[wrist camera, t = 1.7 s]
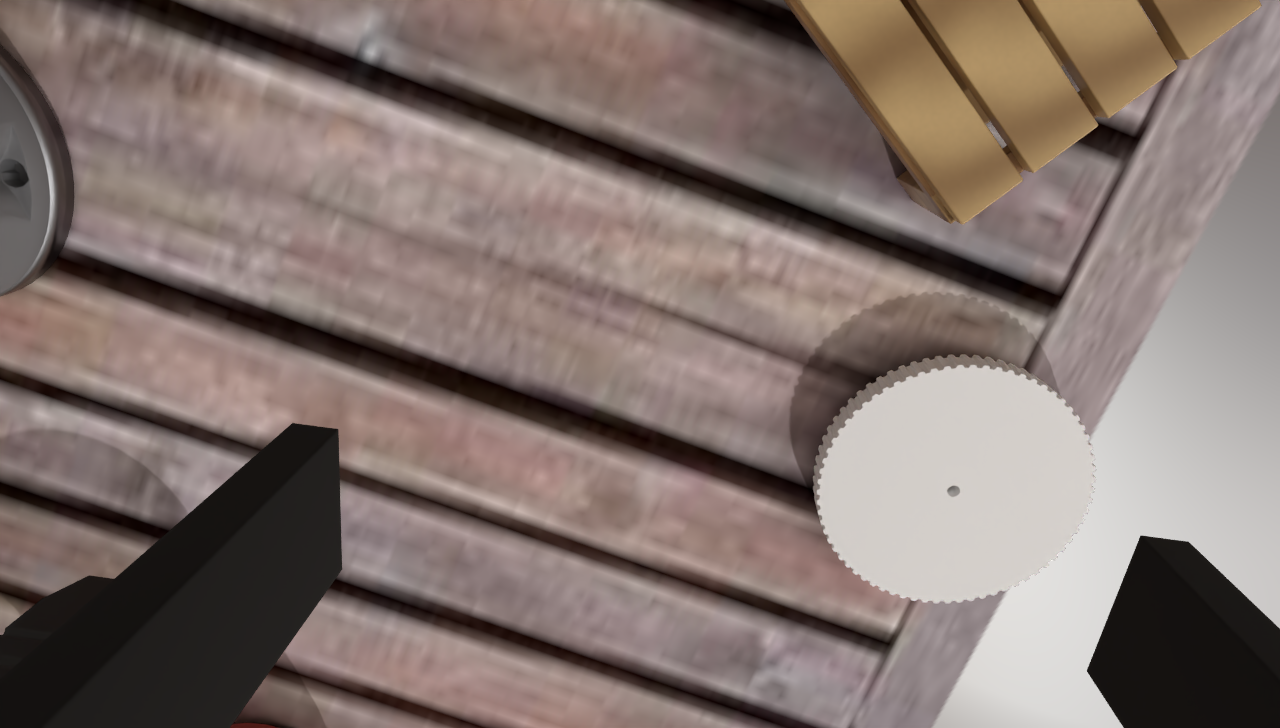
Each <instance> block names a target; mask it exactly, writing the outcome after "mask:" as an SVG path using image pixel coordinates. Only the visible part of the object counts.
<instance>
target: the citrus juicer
mask: <svg viewBox="0 0 1280 728" xmlns="http://www.w3.org/2000/svg"><path fill="white" fill-rule="evenodd" d="M230 728H278V727H274V726H270V725H266V724H256V723H237V724H232V725H231V727H230Z"/></svg>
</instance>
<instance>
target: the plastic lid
mask: <svg viewBox="0 0 1280 728" xmlns="http://www.w3.org/2000/svg"><path fill="white" fill-rule="evenodd" d="M856 394H857V396H856V397H855V398H854V399H853V398H850V399H849V400H848V405H847V406H846V407H842V408H841V409H840V412H841V413H840V415H839V416H835V417H834V418H833V421H834V423H833V425H829V426H828V428H827V431H828V434H827V435H823V438H822V441H823V445H819V448H818V450H819V453H820V454H819V455H816V458H815V460H816V463H817V465H815V466H814V473H815V475H814V476H813V482H814V486H813V491H814V495H815V496H814V500H815V503H816V508H817V512H818V515H819V519H820V523H821V525H822V528H823V532H824V534H826V537H827V541H828V542H829V543H831V546H832V549H833V551H834V552H837V555H838V558H839V559H840V560H844V563H845V566H846V567H847V568H849V567H851V569H852V572H853V573H854V574H855V575H857V574H860V577H861V579H862V580H863V581H866V580H868V581H869V583H870V585H871V586H875V585H877V586H878V587H879V590H881V591H885V590H888V591H889V594H891V595H895V594H899V596H900V598H906V597H910V599H911V600H912V601H916V600H917V599H921V600H922V602H926V603H927V602H928V601H933V603H939V602H940V601H944V602H945V603H951V601H956V602H957V603H960V602H962V601H963V600H965V599H968V601H973V600H974V598H977V597H980V599H983V598H986V595H989V594H991V595H992V596H993V595H996V594H997V592H998V591H1001V590H1002V591H1003V592H1005V591H1007V590H1008V587H1010V586H1014V587H1016V586H1018V585H1019V582H1020V581H1022V580H1024V581H1027V580H1029V579H1030V578H1029V576H1031V575H1032V574H1034V575H1037V574H1038V573H1039V569H1041V568H1042V567H1044V568H1046V567H1047V566H1049V564H1048V562H1049V561H1051V560H1055V559H1056V558H1057V557H1058V556H1057V554H1058V553H1059V552H1063V551H1064V550H1065V547H1064V546H1065V545H1066V544H1067V543H1071V542H1072V540H1073V539H1072V536H1073V534H1077V533H1078V531H1079V529H1078V526H1079V524H1083V522H1084V518H1083V516H1084V514H1088V511H1089V509H1088V508H1087V505H1088V504H1090V503H1092V498H1091V497H1090V494H1091V493H1094V490H1095V488H1094V487H1093V486H1092V483H1093V482H1095V481H1096V477H1095V476H1094V475H1093V472H1094V471H1096V466H1095V465H1094V464H1093V463H1092V462H1093V461H1094V460H1095V456H1094V455H1093V454H1092V453H1091V452H1090V451H1091V450H1093V447H1092V445H1091V444H1090V443H1089V442H1088V440H1089V439H1090V437H1089V435H1088V434H1087V433H1086V432H1085V431H1084V430H1085V429H1086V428H1085V426H1084V425H1083V424H1082V423H1081V422H1080V421H1079V420H1080V418H1079V416H1078V415H1077V414H1076V413H1074V412H1073V409H1072V407H1071V406H1070V405H1068V404H1067V403H1066V401H1065V400H1064V399H1063V398H1062V397H1061V396H1060V395H1058V394H1057V393H1056V392H1055V391H1054V390H1053V389H1052V388H1051V387H1049V386H1048V385H1047V384H1046V383H1045V382H1044V381H1042V380H1040V379H1039V378H1037V377H1036V376H1035V375H1034V374H1032V373H1031V374H1029V373H1028V372H1027V371H1026V370H1025V369H1023V368H1020V369H1018V368H1017V367H1016V366H1015V365H1014V364H1012V363H1009V364H1008V365H1007V364H1006V363H1005V362H1004V361H1003V360H999V359H998V360H997V361H994V360H993V359H992V358H991V357H985V359H982V358H981V357H980V356H979V355H973V357H972V358H970V357H968V356H967V355H966V354H961V355H960V357H955V356H954V355H948V357H947V358H942V357H941V356H936V357H935V359H933V360H930V359H929V358H924V359H923V360H922V362H920V363H917V362H916V361H913V362H911V363H910V366H907V367H905V366H904V365H902V366H899V367H898V370H897V371H895V372H894V371H892V370H890V371H888V372H887V375H886V376H885V377H882V376H879V377H877V378H876V382H875V383H873V384H872V383H868V384H867V385H866V389H865V390H863V391H862V390H859V391H858V392H857V393H856Z"/></svg>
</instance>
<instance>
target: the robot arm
mask: <svg viewBox="0 0 1280 728" xmlns="http://www.w3.org/2000/svg"><path fill="white" fill-rule="evenodd" d="M73 209H74V182H73V174H72V168H71V163H70V158H69V154H68V151H67V147H66V144H65V141H64V138H63V136H62V133H61V131H60V128H59V126H58V123H57V121H56V119H55V117H54V115H53V113H52V111H51V109H50V107H49V106H48V104H47V102H46V101H45V99H44V97H43V96H42V94H41V92H40V91H39V90H38V88H37V87H36V85H35V84H34V82H33V81H32V80H31V78H30V77H29V76H28V75H27V73H26V72H25V71H24V70H23V68H22V67H21V66H20V65H19V64H18V63H17V62H16V61H15V60H14V59H13V58H12V56H11V55H10V54H9V53H8V52H7V51H5V50H4V49H3V48H2V47H1V46H0V296H3V295H6V294H9V293H12V292H15V291H17V290H19V289H22V288H24V287H25V286H27V285H29V284H31V283H32V282H34V281H35V280H36V279H38V278H39V277H40V276H42V275H43V274H44V273H45V272H46V271H47V270H48V269H49V268H50V266H51V265H52V264H53V262H54V261H55V260H56V259H57V257H58V255H59V253H60V252H61V250H62V248H63V246H64V244H65V241H66V239H67V237H68V233H69V230H70V227H71V222H72V216H73ZM341 570H342V551H341V513H340V475H339V438H338V429H332V428H325V427H317V426H310V425H302V424H295V423H292V424H291V425H290V426H289V427H288V428H287V429H285V430H284V431H283V432H282V433H281V434H280V435H279V436H277V437H276V438H275V439H274V440H273V441H272V442H271V443H269V444H268V445H267V446H266V447H265V448H264V449H262V450H261V451H260V452H259V453H258V454H257V455H256V456H254V457H253V458H252V459H251V460H250V461H249V462H248V463H246V464H245V465H244V466H243V467H242V468H241V469H240V470H238V471H237V472H236V473H235V474H234V475H233V476H232V477H230V478H229V479H228V480H227V481H226V482H225V483H224V484H222V485H221V486H220V487H219V488H218V489H217V490H216V491H214V492H213V493H212V494H211V495H210V496H209V497H208V498H206V499H205V500H204V501H203V502H202V503H201V504H200V505H198V506H197V507H196V508H195V509H194V510H193V511H192V512H190V513H189V514H188V515H187V516H186V517H185V518H184V519H182V520H181V521H180V522H179V523H178V524H177V525H176V526H174V527H173V528H172V529H171V530H170V531H169V532H168V533H166V534H165V535H164V536H163V537H162V538H161V539H160V540H158V541H157V542H156V543H155V544H154V545H153V546H152V547H150V548H149V549H148V550H147V551H146V552H145V553H144V554H142V555H141V556H140V557H139V558H138V559H137V560H136V561H134V562H133V563H132V564H131V565H130V566H129V567H128V568H126V569H125V570H124V571H123V572H122V573H121V574H120V575H118V576H117V577H116V578H115V579H110V578H103V577H96V576H87V577H85V578H83V579H81V580H79V581H77V582H75V583H73V584H71V585H69V586H67V587H65V588H63V589H61V590H59V591H57V592H55V593H53V594H51V595H49V596H47V597H45V598H43V599H41V600H40V601H39V602H38V603H36V604H35V605H34V606H33V607H31V608H30V609H29V610H28V611H26V612H25V613H24V614H23V615H21V616H20V617H19V618H18V619H17V620H15V621H14V622H13V623H12V624H10V625H9V626H8V627H7V628H5V632H4V634H3V635H0V728H230V727H231V725H232V724H233V722H234V721H235V720H236V718H237V717H238V715H239V714H240V713H241V711H242V710H243V708H244V707H245V705H246V704H247V703H248V701H249V700H250V698H251V697H252V696H253V694H254V693H255V691H256V690H257V689H258V687H259V686H260V684H261V683H262V681H263V680H264V679H265V677H266V676H267V674H268V673H269V672H270V670H271V669H272V667H273V666H274V665H275V663H276V662H277V660H278V659H279V658H280V656H281V655H282V653H283V652H284V650H285V649H286V648H287V646H288V645H289V643H290V642H291V641H292V639H293V638H294V636H295V635H296V634H297V632H298V631H299V629H300V628H301V626H302V625H303V624H304V622H305V621H306V619H307V618H308V617H309V615H310V614H311V612H312V611H313V610H314V608H315V607H316V605H317V604H318V602H319V601H320V600H321V598H322V597H323V595H324V594H325V593H326V591H327V590H328V588H329V587H330V586H331V584H332V583H333V581H334V580H335V579H336V577H337V576H338V574H339V573H340V571H341ZM1087 672H1088V674H1089V675H1090V677H1091V678H1092V679H1093V681H1094V683H1095V684H1096V686H1097V687H1098V689H1099V690H1100V692H1101V693H1102V695H1103V697H1104V698H1105V700H1106V701H1107V702H1108V704H1109V706H1110V707H1111V709H1112V710H1113V712H1114V713H1115V715H1116V716H1117V718H1118V720H1119V721H1120V723H1121V724H1122V725H1123V727H1124V728H1280V629H1279V628H1278V627H1277V626H1276V625H1275V624H1274V623H1273V622H1272V621H1271V620H1270V619H1269V618H1268V617H1267V616H1266V615H1265V614H1264V613H1263V612H1261V611H1260V610H1259V609H1258V608H1257V607H1256V606H1255V605H1254V604H1253V603H1252V602H1251V601H1250V600H1249V599H1248V598H1247V597H1246V596H1245V595H1244V594H1243V593H1242V592H1241V591H1240V590H1238V589H1237V588H1236V587H1235V586H1234V585H1233V584H1232V583H1231V582H1230V581H1229V580H1228V579H1227V578H1226V577H1225V576H1224V575H1223V574H1222V573H1221V572H1220V571H1218V569H1216V568H1215V567H1214V566H1213V565H1212V564H1211V563H1210V562H1209V561H1208V560H1207V559H1206V558H1205V557H1204V556H1203V555H1202V554H1201V553H1200V552H1199V551H1198V550H1197V549H1195V548H1194V547H1193V546H1192V545H1191V544H1190V543H1189V542H1185V541H1178V540H1170V539H1163V538H1155V537H1148V536H1140V538H1139V541H1138V544H1137V546H1136V549H1135V551H1134V554H1133V556H1132V559H1131V561H1130V564H1129V566H1128V569H1127V572H1126V574H1125V576H1124V579H1123V581H1122V584H1121V586H1120V589H1119V591H1118V594H1117V596H1116V599H1115V601H1114V604H1113V606H1112V609H1111V611H1110V614H1109V616H1108V619H1107V621H1106V624H1105V627H1104V629H1103V632H1102V634H1101V637H1100V639H1099V642H1098V644H1097V647H1096V649H1095V652H1094V654H1093V657H1092V659H1091V662H1090V664H1089V667H1088V669H1087Z"/></svg>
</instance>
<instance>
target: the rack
mask: <svg viewBox="0 0 1280 728" xmlns="http://www.w3.org/2000/svg"><path fill="white" fill-rule="evenodd" d="M784 1H785V2H786V4H787V5H788V7H789V8H790V9H791V11H792V12H793V13H794V15H795V16H796V18H797V19H798V20H799V22H800V23H801V24H802V26H803V27H804V29H805V30H806V31H807V33H808V34H809V35H810V37H811V38H812V39H813V41H814V42H815V44H816V45H817V46H818V48H819V49H820V50H821V52H822V53H823V55H824V56H825V57H826V59H827V60H828V61H829V63H830V64H831V66H832V67H833V68H834V70H835V71H836V72H837V74H838V75H839V77H840V78H841V79H842V81H843V82H844V83H845V85H846V86H847V88H848V89H849V90H850V92H851V93H852V94H853V96H854V97H855V99H856V100H857V101H858V103H859V104H860V105H861V107H862V108H863V110H864V111H865V112H866V114H867V115H868V116H869V118H870V119H871V120H872V122H873V123H874V125H875V126H876V127H877V129H878V130H879V131H880V133H881V134H882V136H883V137H884V138H885V140H886V141H887V142H888V144H889V145H890V147H891V148H892V149H893V151H894V152H895V153H896V155H897V156H898V158H899V159H900V160H901V162H902V163H903V164H904V166H905V167H906V169H907V170H906V171H905V172H904V173H903V174H901V175H900V176H899V177H897V180H898V181H899V183H900V184H901V185H902V187H903V188H904V189H905V191H906V192H907V193H908V195H909V196H910V198H911V199H912V200H913V202H915V203H917V204H918V205H920V206H922V207H923V208H925V209H927V210H928V211H930V212H932V213H934V214H935V215H937V216H939V217H940V218H942V219H944V220H945V221H947V222H949V223H950V224H951V223H953V222H954V221H957V222H959V223H960V224H965V223H966V222H967V221H969V220H970V219H972V218H973V217H974V216H976V215H977V214H978V213H980V212H981V211H982V210H984V209H985V208H987V207H988V206H989V205H991V204H992V203H993V202H995V201H996V200H997V199H999V198H1000V197H1002V196H1003V195H1004V194H1006V193H1007V192H1008V191H1010V190H1011V189H1012V188H1014V187H1015V186H1017V185H1018V184H1019V183H1021V182H1022V181H1023V178H1022V177H1021V175H1020V174H1019V173H1021V172H1022V171H1024V170H1026V171H1029V172H1032V173H1034V172H1036V171H1037V170H1039V169H1040V168H1041V167H1043V166H1044V165H1045V164H1047V163H1048V162H1050V161H1051V160H1052V159H1054V158H1055V157H1056V156H1058V155H1059V154H1061V153H1062V152H1063V151H1065V150H1066V149H1067V148H1069V147H1070V146H1071V145H1073V144H1074V143H1076V142H1077V141H1078V140H1080V139H1081V138H1082V137H1084V136H1085V135H1086V134H1088V133H1089V132H1091V131H1092V130H1093V129H1095V128H1096V127H1097V126H1098V124H1097V122H1096V121H1095V119H1094V118H1096V117H1097V116H1098V117H1106V118H1109V117H1111V116H1112V115H1114V114H1115V113H1117V112H1118V111H1119V110H1121V109H1122V108H1123V107H1125V106H1126V105H1127V104H1129V103H1130V102H1132V101H1133V100H1134V99H1136V98H1137V97H1138V96H1140V95H1141V94H1143V93H1144V92H1145V91H1147V90H1148V89H1149V88H1151V87H1152V86H1153V85H1155V84H1156V83H1158V82H1159V81H1160V80H1162V79H1163V78H1164V77H1166V76H1167V75H1168V74H1170V73H1171V72H1173V71H1174V70H1175V69H1177V65H1176V64H1175V62H1174V61H1173V60H1185V59H1190V58H1192V57H1193V56H1195V55H1196V54H1197V53H1199V52H1200V51H1201V50H1203V49H1204V48H1205V47H1207V46H1208V45H1210V44H1211V43H1212V42H1214V41H1215V40H1216V39H1218V38H1219V37H1220V36H1222V35H1223V34H1225V33H1226V32H1227V31H1229V30H1230V29H1231V28H1233V27H1234V26H1236V25H1237V24H1238V23H1240V22H1241V21H1242V20H1244V19H1245V18H1246V17H1248V16H1249V15H1251V14H1252V13H1253V12H1255V11H1256V10H1257V9H1259V8H1260V7H1261V6H1262V5H1261V3H1260V1H1259V0H784ZM1141 6H1142V7H1143V9H1144V11H1145V12H1146V14H1147V16H1148V17H1149V19H1150V21H1151V22H1152V24H1153V26H1154V27H1155V29H1156V31H1157V33H1156V31H1155V29H1154V28H1153V26H1152V24H1151V23H1150V21H1149V19H1148V18H1147V16H1146V14H1145V13H1144V11H1143V9H1142V8H1141ZM1063 65H1064V66H1065V68H1066V69H1067V71H1068V72H1069V74H1070V75H1071V77H1072V79H1073V80H1074V82H1075V83H1076V85H1077V86H1078V88H1079V89H1080V91H1079V92H1077V91H1076V90H1075V88H1074V87H1073V85H1072V84H1071V82H1070V81H1069V79H1068V78H1067V76H1066V74H1065V73H1064V71H1063V70H1062V68H1061V66H1063ZM990 121H991V123H992V124H993V126H994V127H995V128H996V130H997V131H998V133H999V134H1000V136H1001V137H1002V139H1003V140H1004V142H1005V143H1006V144H1007V146H1005V147H1004V148H1003V149H1002V148H1001V146H1000V145H999V143H998V142H997V140H996V139H995V137H994V136H993V135H992V133H991V132H990V130H989V129H988V127H987V126H986V124H987V123H988V122H990Z"/></svg>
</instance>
